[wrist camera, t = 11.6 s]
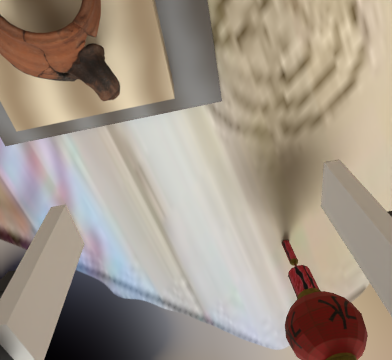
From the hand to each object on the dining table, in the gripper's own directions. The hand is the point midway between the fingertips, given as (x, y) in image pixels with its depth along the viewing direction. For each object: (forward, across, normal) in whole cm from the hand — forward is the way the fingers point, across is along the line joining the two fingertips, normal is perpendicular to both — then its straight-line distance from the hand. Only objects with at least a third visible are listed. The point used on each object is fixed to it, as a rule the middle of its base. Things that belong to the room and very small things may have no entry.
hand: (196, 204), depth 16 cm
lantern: (+24, -11, +28) cm, 39 cm away
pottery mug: (+17, +9, -8) cm, 21 cm away
